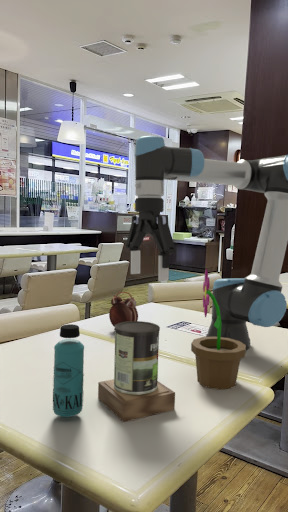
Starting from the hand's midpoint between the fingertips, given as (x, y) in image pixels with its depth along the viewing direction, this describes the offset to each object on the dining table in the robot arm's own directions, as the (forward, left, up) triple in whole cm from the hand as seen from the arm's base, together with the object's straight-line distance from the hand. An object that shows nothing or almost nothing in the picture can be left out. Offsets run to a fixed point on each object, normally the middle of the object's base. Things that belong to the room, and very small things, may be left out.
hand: (148, 277), depth 114 cm
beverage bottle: (+27, +14, -27) cm, 41 cm away
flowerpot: (-15, +13, -27) cm, 33 cm away
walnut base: (+11, +15, -27) cm, 33 cm away
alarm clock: (-15, -41, -27) cm, 52 cm away
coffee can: (+11, +14, -23) cm, 29 cm away
